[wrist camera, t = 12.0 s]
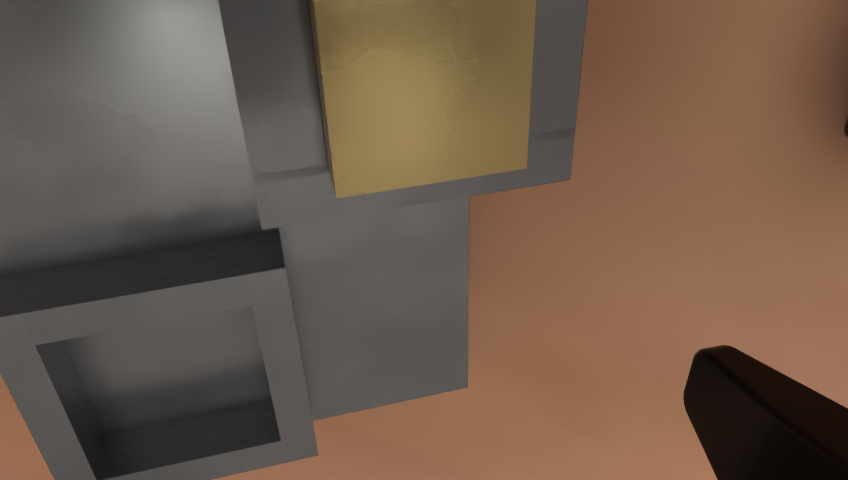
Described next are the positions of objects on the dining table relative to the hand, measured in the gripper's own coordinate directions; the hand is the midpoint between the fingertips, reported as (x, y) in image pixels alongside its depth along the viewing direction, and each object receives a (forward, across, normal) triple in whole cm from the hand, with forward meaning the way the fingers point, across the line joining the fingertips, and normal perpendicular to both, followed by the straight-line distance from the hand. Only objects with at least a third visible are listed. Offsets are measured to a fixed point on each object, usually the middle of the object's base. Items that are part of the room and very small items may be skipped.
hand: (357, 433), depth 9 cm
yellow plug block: (+10, -2, -2) cm, 11 cm away
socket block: (+12, +2, +4) cm, 13 cm away
